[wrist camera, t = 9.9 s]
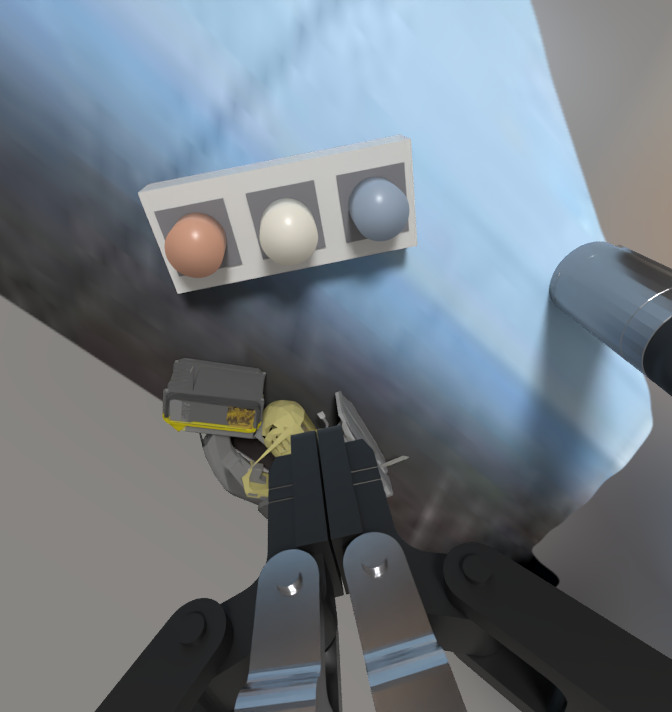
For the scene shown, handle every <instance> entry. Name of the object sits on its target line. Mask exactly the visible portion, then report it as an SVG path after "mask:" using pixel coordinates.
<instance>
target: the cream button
mask: <svg viewBox="0 0 672 712" xmlns="http://www.w3.org/2000/svg"><path fill="white" fill-rule="evenodd" d="M259 236H260V244H261V247H262V249H263V251H264V252H265V254H266V255H267V256H268V257H269V258H270V259H271V260H273V261H274V262H276V263H279V264H282V265H297V264H300V263H302V262H304V261H306V260H307V259H308V258H309V257H310V256H311V255H312V254H313V253H314V251H315V249H316V246H317V243H318V232H317V228H316V224H315V221H314V218H313V215H312V213H311V211H310V210H309V209H308V207H307V206H306V205H304V204H303V203H302V202H300V201H298V200H295V199H291V198H283V199H279V200H276V201H274V202H273V203H271V204H270V205H269V206H268V207H267V208H266V209H265V211H264V212H263V215H262V217H261V224H260V235H259Z"/></svg>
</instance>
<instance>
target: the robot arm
mask: <svg viewBox="0 0 672 712" xmlns="http://www.w3.org/2000/svg"><path fill="white" fill-rule="evenodd" d="M550 295H551V299H552V300H553V302H554V304H555V305H556V306H558V307H559V308H560V309H561V310H563V311H564V312H565V313H566V314H568V315H569V316H570V317H571V318H572V319H574V320H575V321H576V322H578V323H579V324H580V325H581V326H583V327H584V328H585V329H586V330H588V331H589V332H590V333H592V334H593V335H594V336H595V337H597V338H598V339H599V340H600V341H602V342H603V343H604V344H606V345H607V346H608V347H609V348H611V349H612V350H613V351H614V352H616V353H617V354H618V355H620V356H621V357H622V358H623V359H625V360H626V361H627V362H629V363H630V364H631V365H633V366H634V367H635V368H636V369H638V370H639V371H640V372H641V373H643V374H644V375H645V376H647V377H648V378H649V379H650V380H652V381H653V382H655V383H656V384H657V385H658V386H660V387H661V388H662V389H663V390H665V391H666V392H667V393H668V394H669V395H671V396H672V269H671V268H669V267H667V266H665V265H662V264H660V263H658V262H656V261H654V260H652V259H650V258H647V257H645V256H643V255H641V254H639V253H637V252H635V251H632V250H630V249H628V248H626V247H624V246H622V245H615V246H614V245H612V244H610V243H608V242H591V243H587V244H585V245H582V246H580V247H578V248H576V249H575V250H573V251H572V252H571V253H569V254H568V255H567V256H566V257H565V258H564V259H563V260H562V261H561V262H560V263H559V265H558V266H557V268H556V269H555V271H554V273H553V276H552V278H551V282H550ZM317 435H318V438H317ZM290 441H291V454H287V455H283V456H278V457H276V458H275V460H274V462H273V464H272V466H271V468H270V470H269V472H268V489H269V491H268V502H269V505H268V556H267V561H266V565H265V566H264V567H263V569H262V571H261V573H260V576H259V577H258V579H257V580H256V581H255V582H254V583H253V584H252V585H251V586H250V587H248V588H247V589H246V590H244V591H243V592H241V593H239V594H238V595H236V596H234V597H232V598H230V599H229V600H227V601H225V602H223V603H222V604H219V603H218V602H216V601H214V600H212V599H208V598H200V599H195V600H192V601H190V602H188V603H186V604H185V605H183V606H182V607H180V608H179V609H178V610H177V611H176V612H175V613H174V614H173V615H172V616H171V617H170V619H169V620H168V621H167V623H166V624H165V625H164V626H163V628H162V629H161V630H160V631H159V633H158V634H157V635H156V636H155V637H154V639H153V640H152V641H151V642H150V644H149V645H148V646H147V647H146V649H145V650H144V651H143V652H142V653H141V655H140V656H139V657H138V659H137V660H136V661H135V662H134V663H133V665H132V666H131V667H130V669H129V670H128V671H127V672H126V673H125V675H124V676H123V677H122V678H121V680H120V681H119V682H118V683H117V685H116V686H115V687H114V688H113V690H112V691H111V692H110V693H109V694H108V696H107V697H106V698H105V700H104V701H103V702H102V703H101V705H100V706H99V707H98V708H97V709H96V711H95V712H342V694H341V674H340V654H339V636H338V627H337V625H338V624H337V612H336V604H335V597H338V596H342V595H344V593H343V587H342V581H343V584H344V587H345V591H346V594H350V598H351V602H352V607H353V611H354V615H355V619H356V624H357V628H358V632H359V637H360V641H361V646H362V650H363V655H364V658H365V664H366V669H367V675H368V679H369V684H370V688H371V692H372V697H373V701H374V706H375V710H376V712H467V710H466V707H465V705H464V703H463V699H462V697H461V694H460V691H459V689H458V686H457V683H456V681H455V678H454V675H453V673H452V670H451V667H450V665H449V662H448V660H447V657H446V655H445V653H444V651H443V650H445V651H451V652H454V654H455V655H456V656H457V657H458V658H459V659H460V660H461V661H463V662H464V663H465V664H466V665H467V666H468V667H470V668H471V669H472V670H473V671H474V672H476V673H477V674H478V675H479V676H480V677H481V678H483V679H484V680H485V681H486V682H487V683H489V684H490V685H491V686H492V687H493V688H494V689H496V690H497V691H498V692H499V693H500V694H502V695H503V696H504V697H505V698H506V699H507V700H509V701H510V702H511V703H512V704H514V705H515V706H516V707H517V708H518V709H519V710H521V711H522V712H672V659H670V658H668V657H667V656H665V655H663V654H662V653H660V652H659V651H657V650H656V649H654V648H652V647H651V646H649V645H648V644H646V643H644V642H643V641H641V640H640V639H638V638H636V637H635V636H633V635H631V634H630V633H628V632H627V631H625V630H623V629H622V628H620V627H618V626H617V625H615V624H614V623H612V622H610V621H609V620H607V619H606V618H604V617H603V616H601V615H599V614H598V613H596V612H595V611H593V610H591V609H590V608H588V607H586V606H584V605H583V604H582V603H580V602H578V601H577V600H575V599H574V598H572V597H570V596H569V595H567V594H565V593H564V592H562V591H561V590H559V589H558V588H556V587H554V586H553V585H551V584H550V583H548V582H546V581H545V580H543V579H541V578H540V577H538V576H537V575H535V574H533V573H532V572H530V571H529V570H527V569H525V568H524V567H522V566H521V565H519V564H517V563H516V562H514V561H513V560H511V559H509V558H508V557H506V556H505V555H503V554H501V553H500V552H498V551H496V550H495V549H493V548H491V547H489V546H487V545H485V544H481V543H476V542H468V543H463V544H460V545H458V546H456V547H454V548H453V549H452V550H451V551H450V552H449V553H448V554H443V553H434V552H426V551H421V550H418V549H415V548H413V547H411V546H410V545H408V544H407V543H406V542H404V541H403V540H402V539H401V537H400V536H399V535H398V533H397V531H396V529H395V527H394V523H393V520H392V516H391V512H390V509H389V505H388V502H387V498H386V494H385V491H384V487H383V483H382V480H381V476H380V473H379V469H378V465H377V462H376V458H375V454H374V451H373V449H372V448H371V447H370V446H369V445H368V444H367V443H366V442H365V441H364V440H363V439H359V440H354V441H349V442H345V441H344V436H343V431H342V426H341V425H337V426H332V427H327V428H322V429H317V434H316V431H315V430H313V431H308V432H304V433H299V434H294V435H291V437H290ZM341 577H342V579H341Z"/></svg>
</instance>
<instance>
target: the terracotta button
mask: <svg viewBox="0 0 672 712" xmlns="http://www.w3.org/2000/svg"><path fill="white" fill-rule="evenodd" d="M226 246H227V238H226V234H225V231H224V229H223V227H222V226H221V224H220V223H219V222H218V221H217V220H216V219H214V218H213V217H211V216H209V215H207V214H204V213H189V214H186V215H184V216H182V217H181V218H180V219H179V220H178V221H177V222H176V223H175V225H174V226H173V228H172V229H171V231H170V232H169V234H168V235H167V237H166V240H165V246H164V247H165V254H166V257H167V259H168V261H169V263H170V264H171V265H172V267H173V268H174V269H175V270H177V271H178V272H180V273H181V274H183V275H185V276H188V277H192V278H203V277H207V276H209V275H211V274H213V273H214V272H216V271H217V269H218V268H219V267H220V265H221V263H222V260H223V257H224V253H225V250H226Z"/></svg>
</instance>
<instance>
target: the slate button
mask: <svg viewBox="0 0 672 712" xmlns="http://www.w3.org/2000/svg"><path fill="white" fill-rule="evenodd" d="M349 213H350V216H351V218H352V220H353V221H354V223H355V225H356V227H357V228H358V230H359V231H360V233H361V234H362V235H363V236H365V237H366V238H368V239H370V240H373V241H386V240H389V239H392V238H393V237H395V236H397V235H398V234H399V233H400V232H401V231H402V230H403V228H404V227H405V225H406V223H407V221H408V218H409V203H408V200H407V198H406V196H405V194H404V193H403V192H402V191H401V190H400V189H399V188H398V187H396V186H395V185H394V184H393V183H392V182H390V181H389V180H387V179H385V178H382V177H370V178H367V179H364V180H363V181H361V182H360V183H359V184H358V185H357V186H356V187H355V188H354V189H353V191H352V193H351V195H350V198H349Z"/></svg>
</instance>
